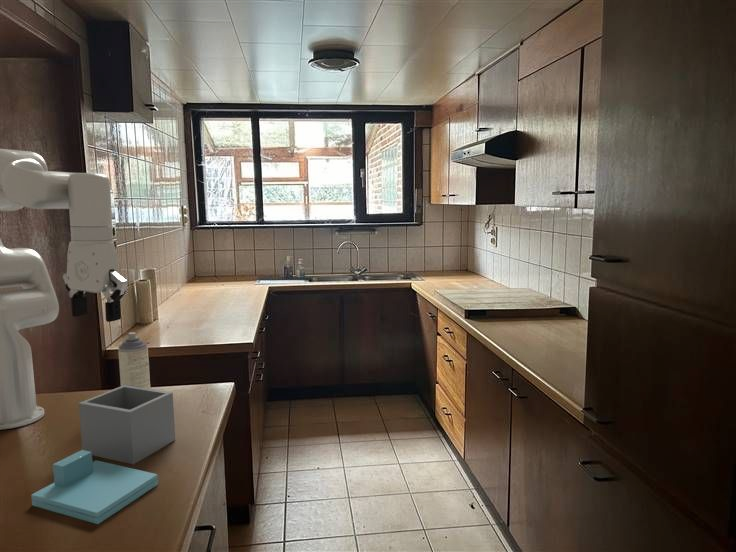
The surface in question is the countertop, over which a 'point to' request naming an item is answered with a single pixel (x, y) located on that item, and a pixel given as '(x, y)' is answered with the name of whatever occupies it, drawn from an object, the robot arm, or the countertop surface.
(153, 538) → the countertop surface
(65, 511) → the lid
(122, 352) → the aerosol can
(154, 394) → the tub
